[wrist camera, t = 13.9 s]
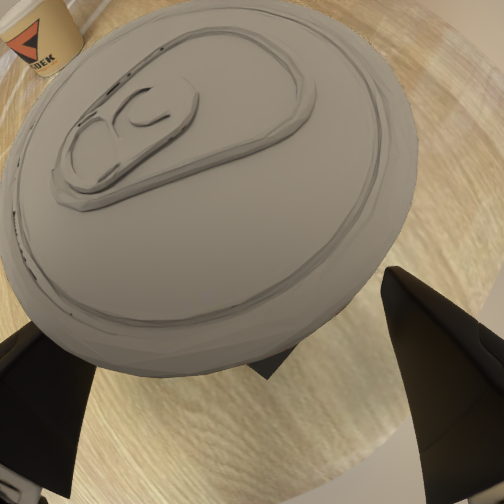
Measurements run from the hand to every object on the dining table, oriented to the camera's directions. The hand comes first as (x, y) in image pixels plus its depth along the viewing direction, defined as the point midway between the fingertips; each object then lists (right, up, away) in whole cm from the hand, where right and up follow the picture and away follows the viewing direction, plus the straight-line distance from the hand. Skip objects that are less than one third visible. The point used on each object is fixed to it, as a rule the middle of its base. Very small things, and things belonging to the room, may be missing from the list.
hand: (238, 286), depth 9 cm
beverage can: (+1, 0, +9) cm, 9 cm away
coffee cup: (-26, +28, +18) cm, 42 cm away
